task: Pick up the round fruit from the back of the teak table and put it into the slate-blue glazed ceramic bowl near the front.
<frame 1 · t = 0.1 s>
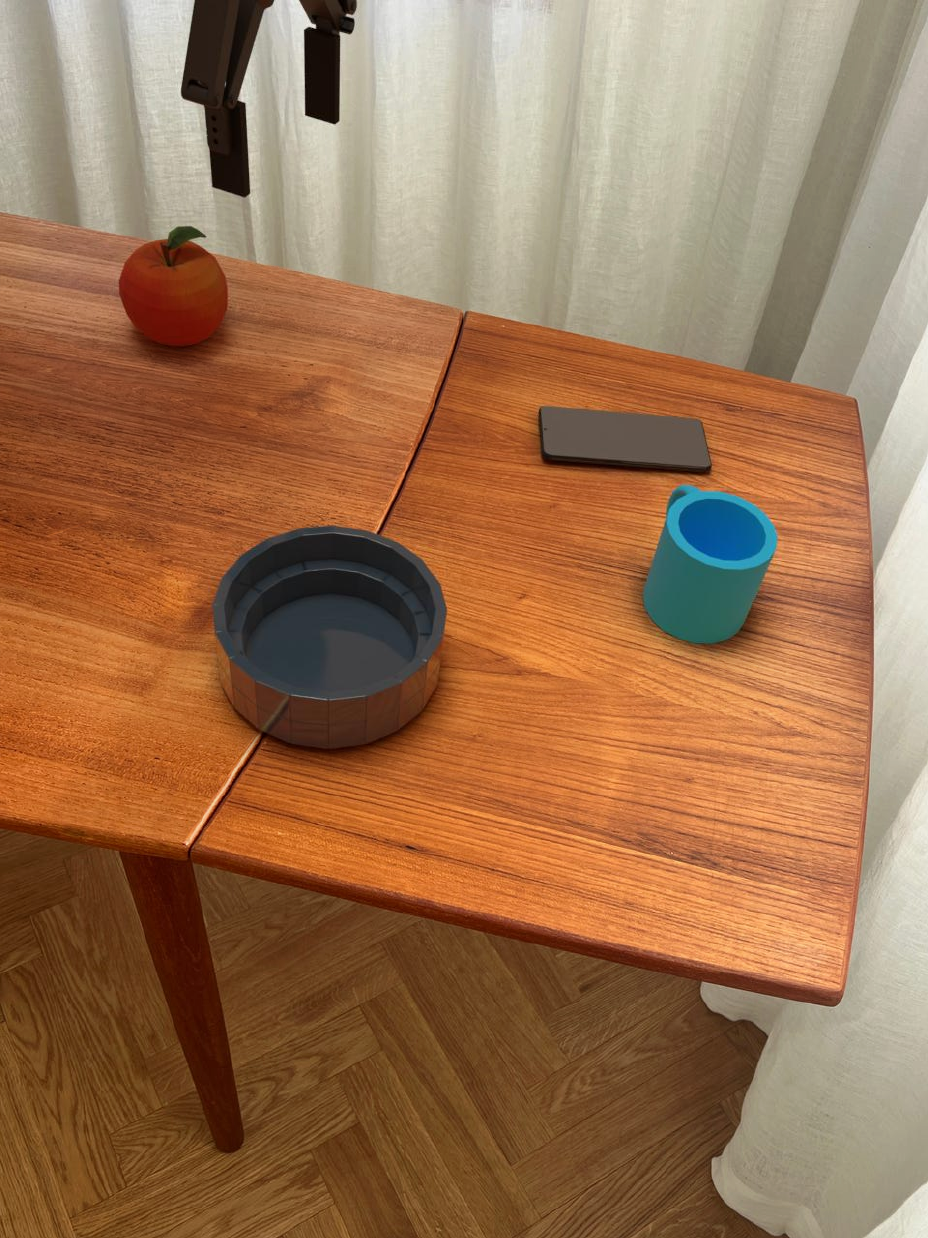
hand: (279, 152, 84), 21 cm above the table, tool pointing down, fingers open, 13 cm apart
smartphone: (622, 444, 99), on the table
bowl: (330, 662, 80), on the table
fruit: (178, 334, 104), on the table
mug: (685, 587, 88), on the table
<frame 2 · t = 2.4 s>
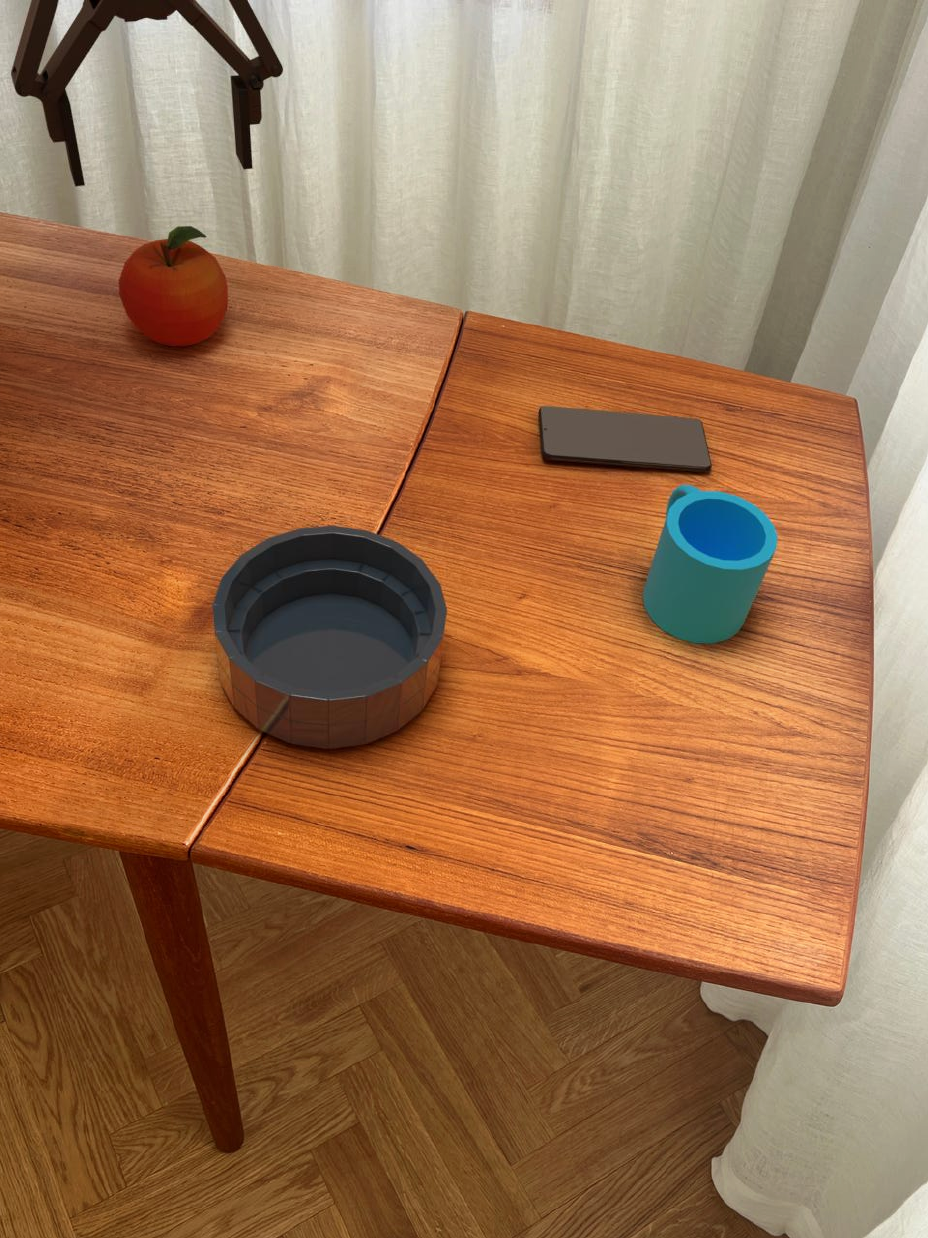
hand: (162, 169, 92), 16 cm above the table, tool pointing down, fingers open, 13 cm apart
nothing on the table moved.
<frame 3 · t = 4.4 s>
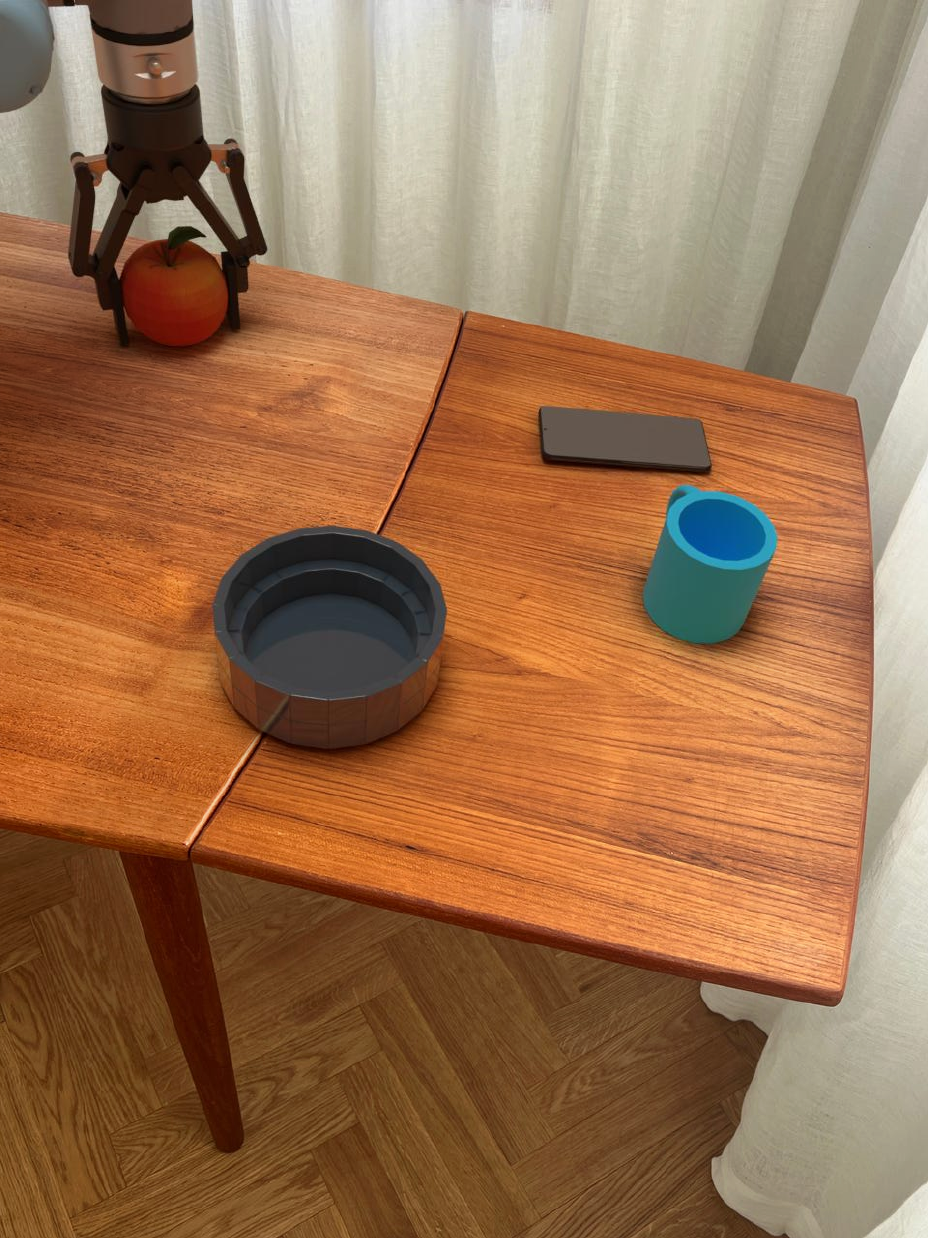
hand: (178, 328, 103), 0 cm above the table, tool pointing down, fingers closed on fruit, 9 cm apart
fruit: (178, 334, 104), on the table, touching gripper
everything else where it was.
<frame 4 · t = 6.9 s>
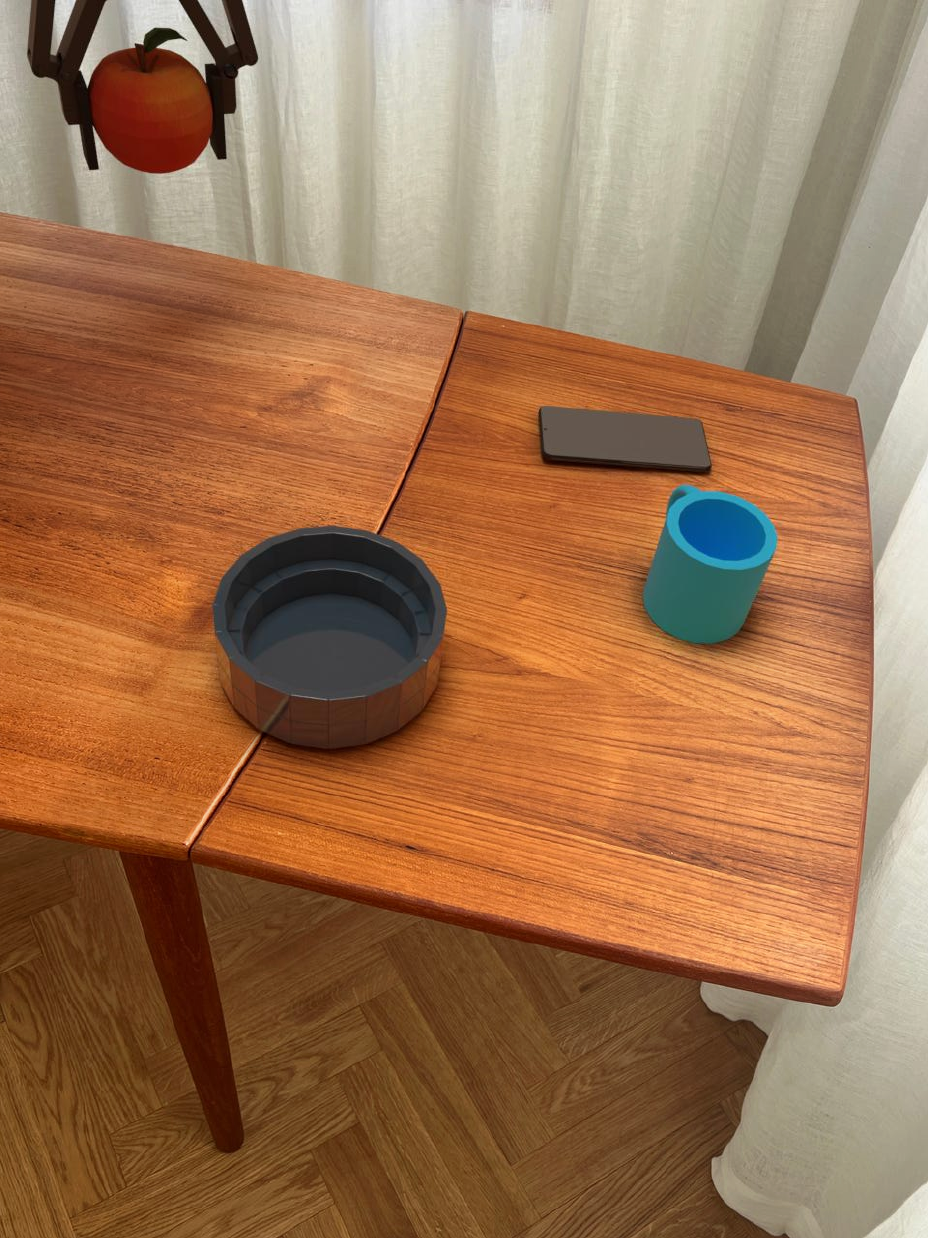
hand: (155, 156, 90), 17 cm above the table, tool pointing down, fingers closed on fruit, 9 cm apart
fruit: (156, 163, 91), point 17 cm above the table, touching gripper
everything else where it was.
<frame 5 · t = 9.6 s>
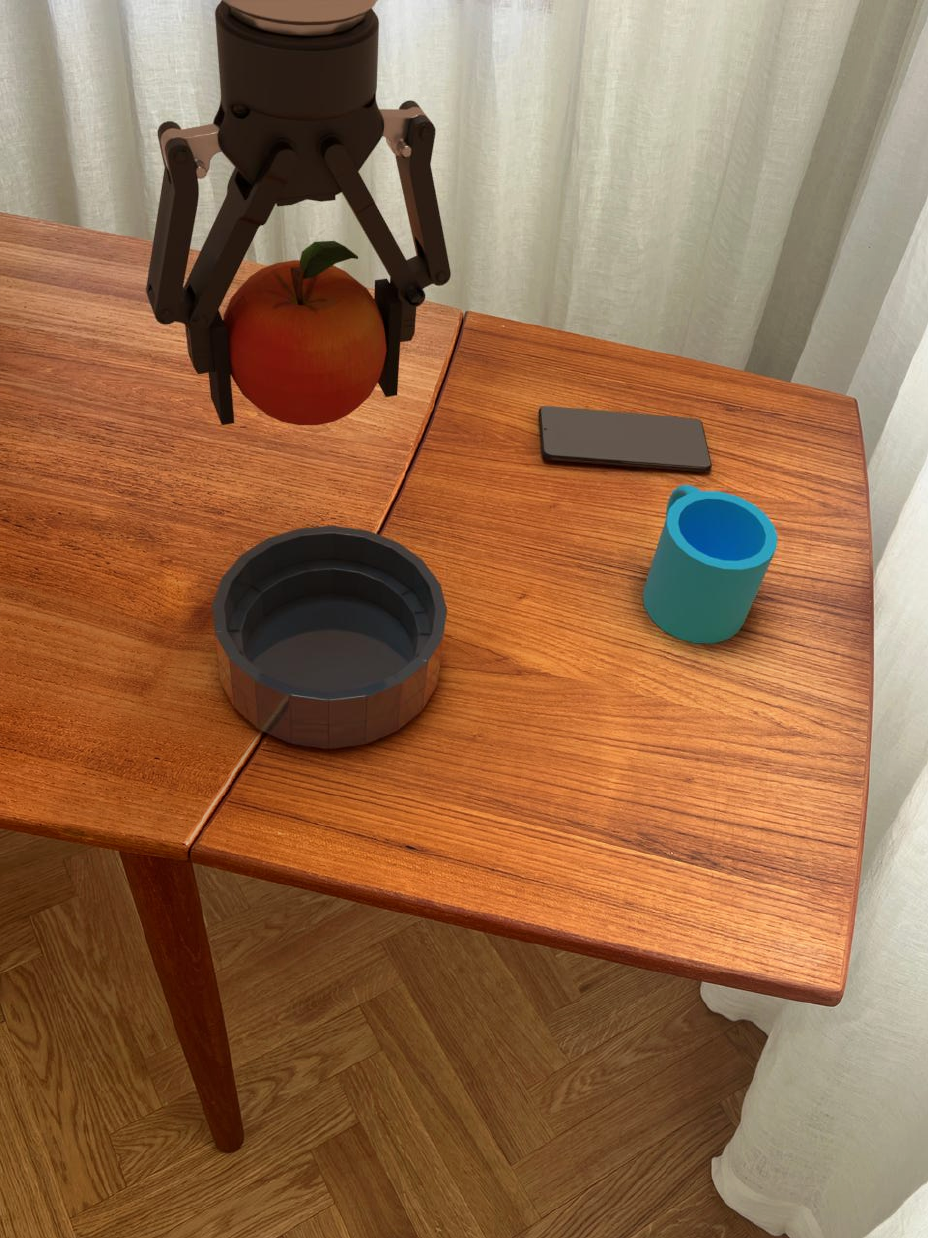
hand: (305, 396, 68), 20 cm above the table, tool pointing down, fingers closed on fruit, 9 cm apart
fruit: (304, 403, 68), point 19 cm above the table, touching gripper
everything else where it was.
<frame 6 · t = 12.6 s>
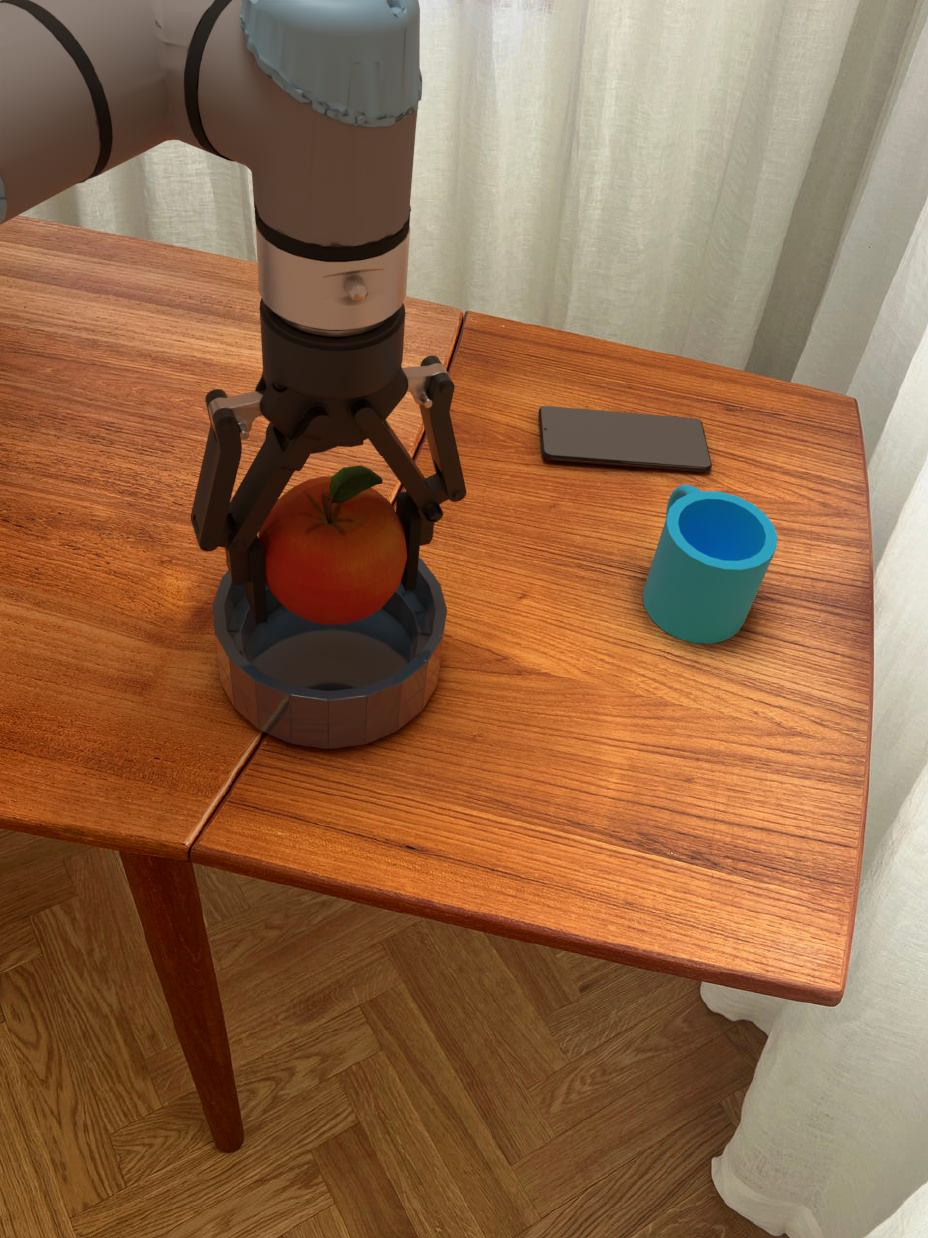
hand: (331, 591, 74), 8 cm above the table, tool pointing down, fingers closed on fruit, 9 cm apart
fruit: (331, 597, 74), point 7 cm above the table, touching gripper
everything else where it was.
when the fingers open (3 cm above the table, at t = 15.3 s): fruit stays where it is, resting on bowl.
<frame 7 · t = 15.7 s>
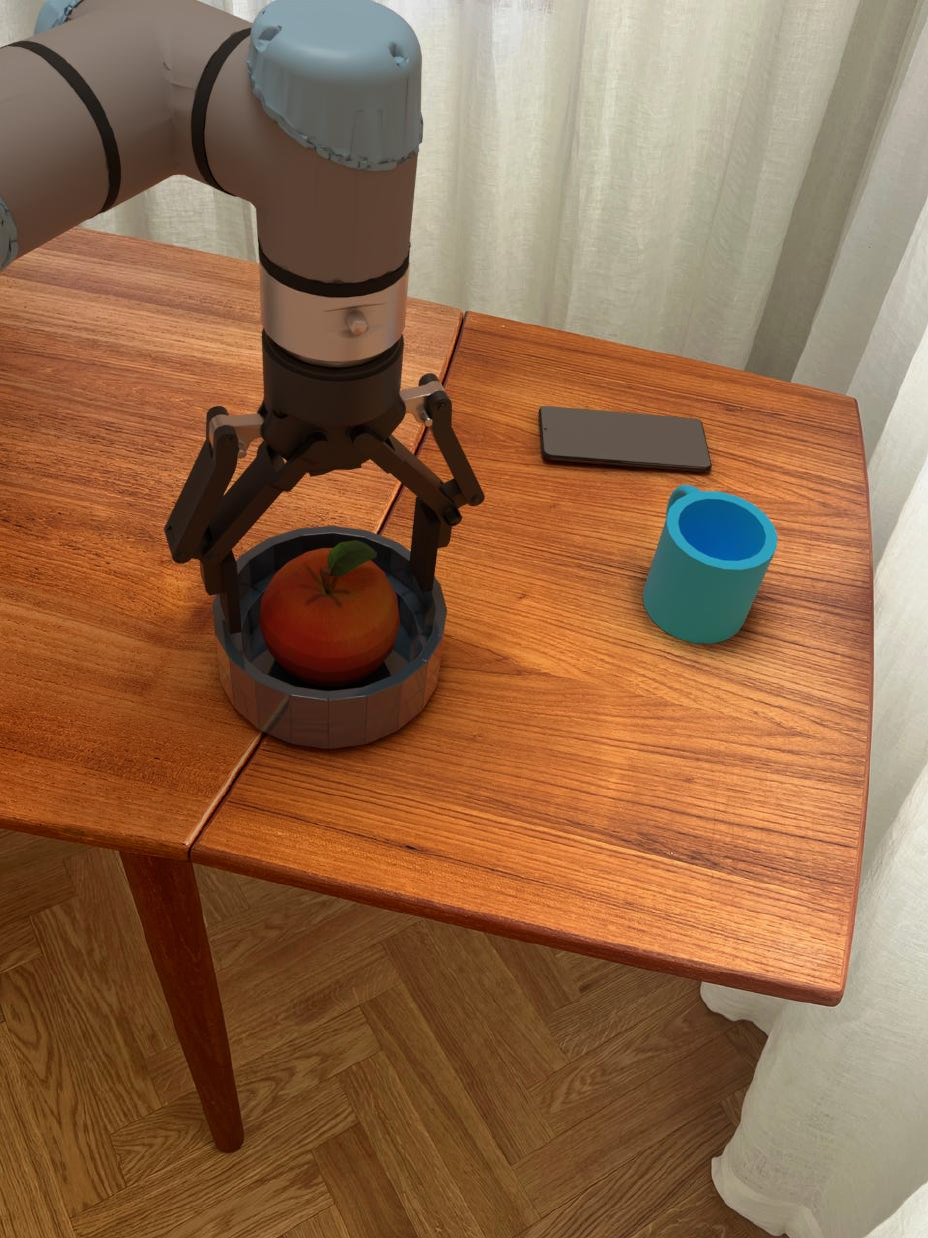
hand: (328, 597, 75), 7 cm above the table, tool pointing down, fingers open, 12 cm apart
fruit: (329, 658, 79), resting on bowl
everything else where it was.
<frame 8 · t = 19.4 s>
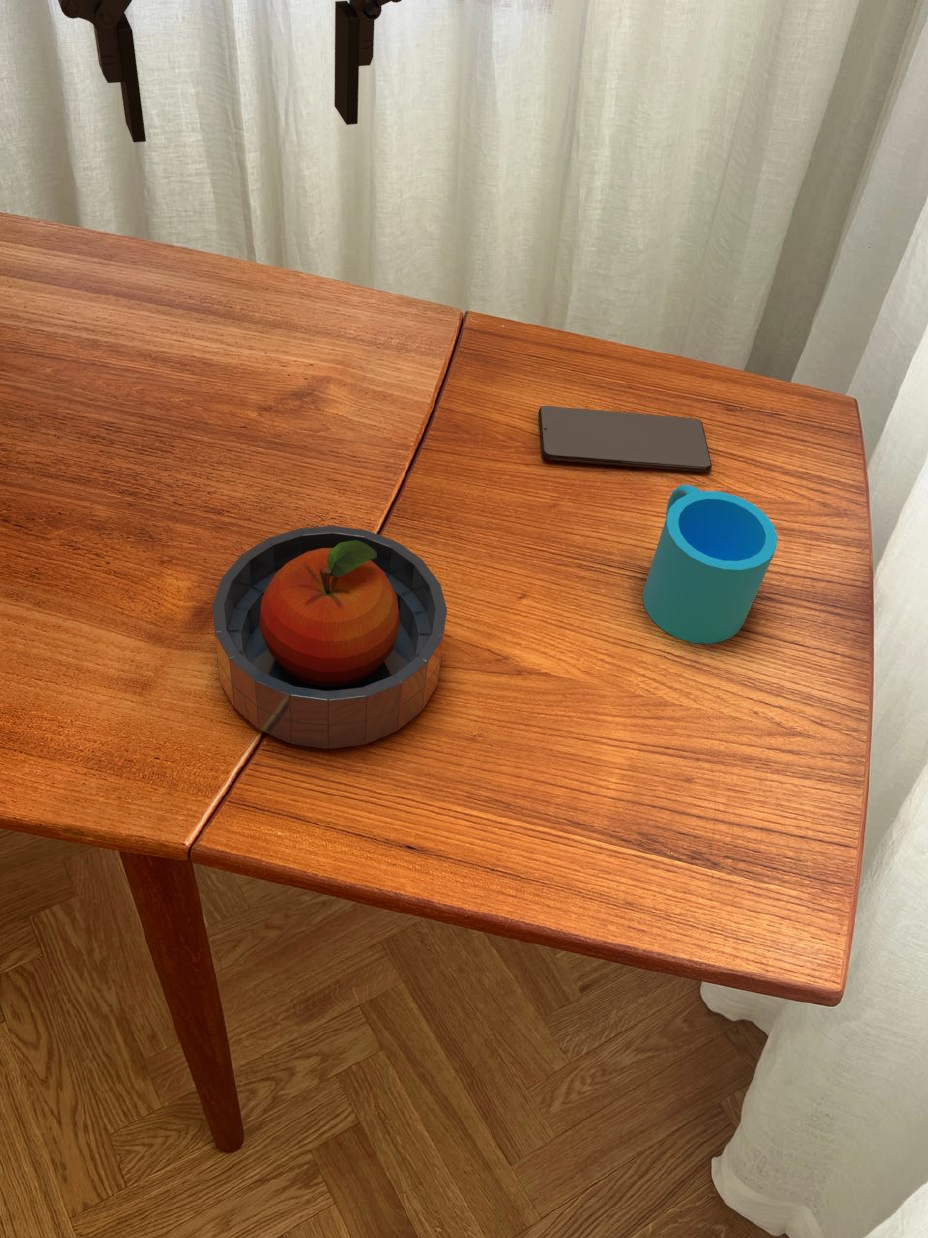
hand: (243, 123, 71), 29 cm above the table, tool pointing down, fingers open, 13 cm apart
nothing on the table moved.
at the end: fruit inside the target area in the bowl (0.1 cm from its centre), point 0.4 cm above the bowl's base; the gripper is holding nothing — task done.
